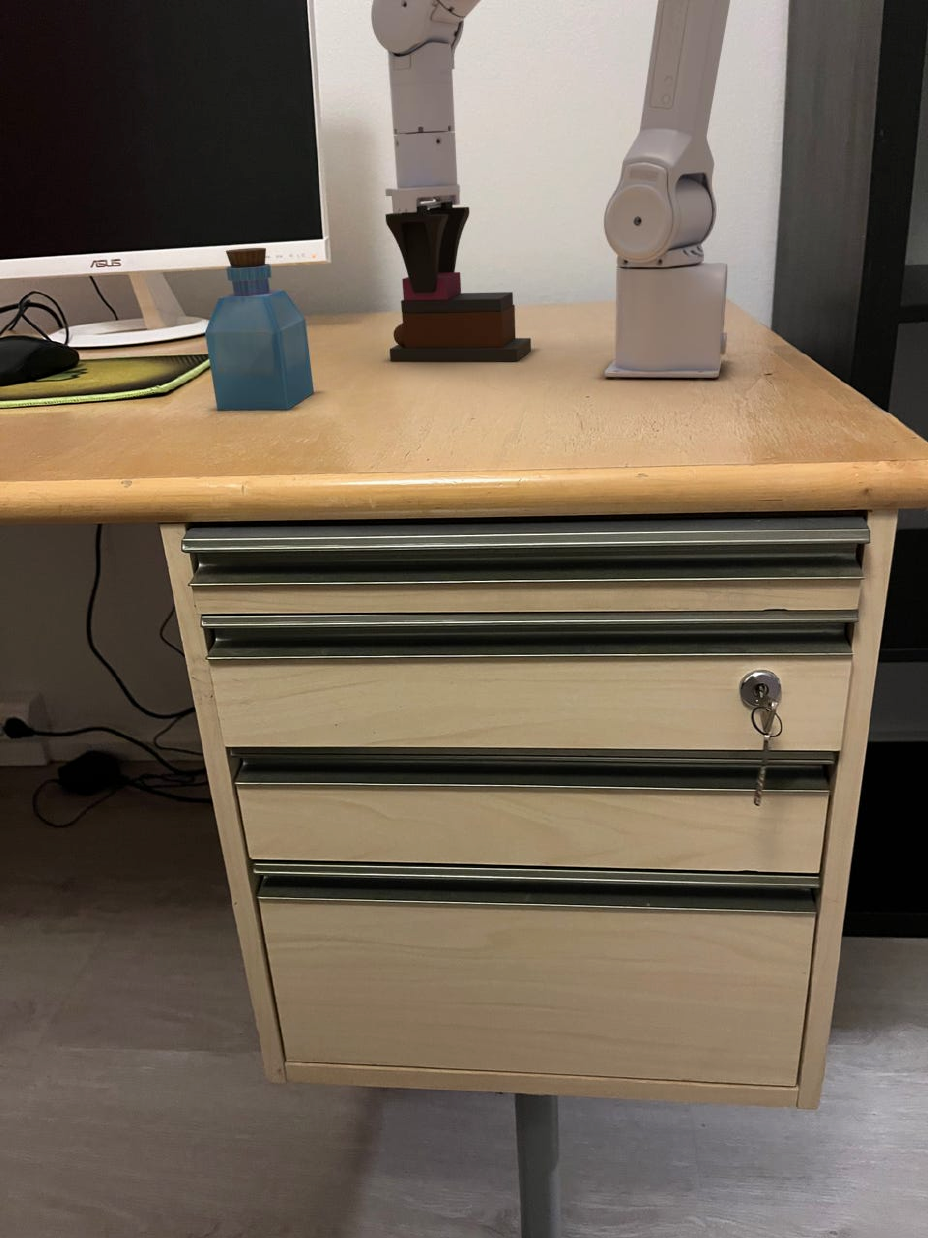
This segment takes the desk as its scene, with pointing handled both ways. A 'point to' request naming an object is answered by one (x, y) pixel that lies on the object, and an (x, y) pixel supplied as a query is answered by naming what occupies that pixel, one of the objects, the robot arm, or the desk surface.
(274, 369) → the perfume bottle
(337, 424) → the desk surface
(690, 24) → the robot arm
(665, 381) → the desk surface
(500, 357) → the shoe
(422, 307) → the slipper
